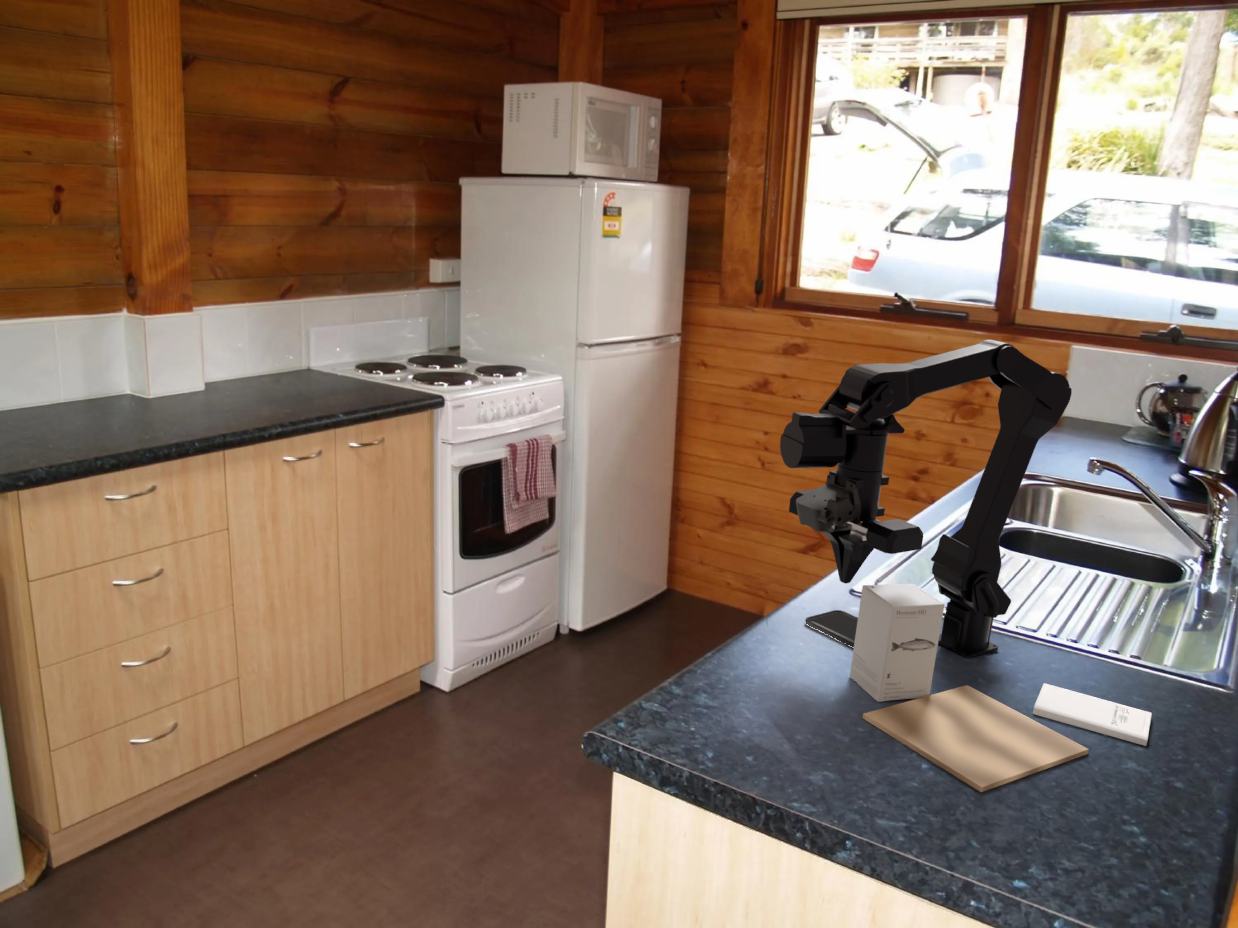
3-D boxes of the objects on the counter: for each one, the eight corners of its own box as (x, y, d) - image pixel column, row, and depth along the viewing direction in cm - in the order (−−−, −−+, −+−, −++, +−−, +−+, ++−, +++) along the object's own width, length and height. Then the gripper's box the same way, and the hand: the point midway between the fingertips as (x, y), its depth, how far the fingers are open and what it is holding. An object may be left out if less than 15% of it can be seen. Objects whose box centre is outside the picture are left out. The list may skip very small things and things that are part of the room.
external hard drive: (1041, 693, 130) (1149, 722, 124) (1031, 718, 123) (1145, 750, 117) (1044, 681, 130) (1152, 710, 124) (1033, 706, 123) (1148, 737, 117)
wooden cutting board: (966, 689, 128) (967, 684, 128) (1087, 753, 114) (1088, 749, 114) (862, 718, 119) (863, 713, 118) (981, 792, 105) (982, 786, 105)
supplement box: (878, 703, 123) (892, 606, 119) (848, 676, 129) (860, 583, 126) (931, 699, 125) (946, 603, 122) (899, 672, 132) (912, 581, 128)
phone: (886, 659, 134) (802, 618, 145) (884, 667, 134) (801, 625, 145) (923, 647, 138) (839, 608, 150) (922, 655, 138) (838, 615, 150)
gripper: (763, 453, 132) (751, 566, 136) (867, 491, 117) (850, 618, 121) (827, 447, 138) (814, 556, 142) (934, 483, 122) (916, 604, 126)
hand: (845, 582), depth 132 cm, fingers closed
